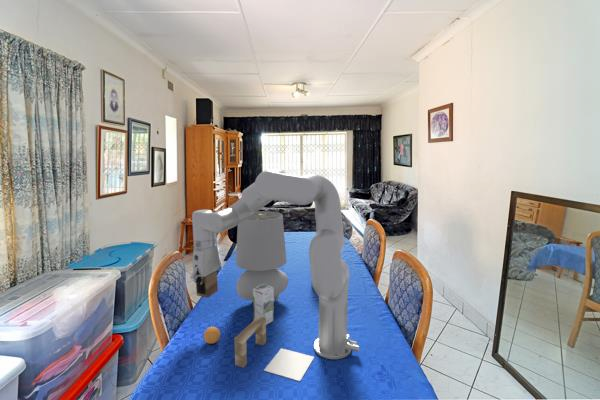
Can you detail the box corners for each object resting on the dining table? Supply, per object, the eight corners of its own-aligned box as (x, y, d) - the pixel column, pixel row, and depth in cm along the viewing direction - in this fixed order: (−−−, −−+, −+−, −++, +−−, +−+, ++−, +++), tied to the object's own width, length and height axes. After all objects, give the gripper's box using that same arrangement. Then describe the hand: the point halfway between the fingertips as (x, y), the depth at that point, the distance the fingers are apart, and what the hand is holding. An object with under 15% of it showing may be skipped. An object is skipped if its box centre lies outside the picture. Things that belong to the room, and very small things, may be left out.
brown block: (217, 291, 124) (216, 271, 123) (207, 297, 118) (206, 276, 117) (207, 289, 126) (206, 269, 125) (196, 295, 120) (195, 275, 119)
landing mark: (314, 357, 105) (314, 356, 105) (299, 381, 94) (299, 380, 94) (281, 348, 110) (281, 348, 110) (263, 370, 99) (263, 370, 99)
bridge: (266, 342, 114) (265, 318, 112) (243, 367, 100) (242, 340, 99) (258, 340, 115) (258, 316, 113) (235, 365, 102) (234, 338, 100)
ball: (223, 339, 115) (222, 325, 114) (213, 348, 110) (213, 333, 109) (211, 336, 117) (210, 322, 117) (200, 344, 112) (200, 330, 112)
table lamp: (282, 289, 157) (281, 208, 151) (295, 310, 137) (295, 217, 130) (234, 296, 150) (231, 211, 144) (240, 319, 129) (237, 221, 123)
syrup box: (263, 316, 131) (263, 282, 129) (274, 321, 128) (273, 286, 125) (253, 322, 127) (252, 287, 125) (263, 327, 123) (263, 291, 121)
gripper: (196, 251, 110) (199, 301, 113) (227, 238, 126) (229, 282, 128) (179, 248, 113) (183, 297, 115) (211, 236, 128) (213, 279, 131)
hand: (207, 289), depth 122 cm, fingers closed on brown block, 6 cm apart
